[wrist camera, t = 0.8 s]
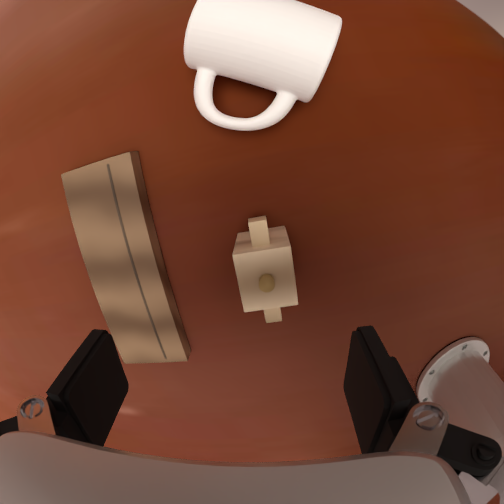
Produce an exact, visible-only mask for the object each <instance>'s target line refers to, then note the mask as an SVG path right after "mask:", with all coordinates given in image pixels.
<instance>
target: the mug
mask: <svg viewBox="0 0 504 504" xmlns="http://www.w3.org/2000/svg"><path fill="white" fill-rule="evenodd" d="M341 26H342V19H341V17H339V16H337V15H335V14H332V13H330V12H327V11H324V10H322V9H319V8H316V7H313V6H310V5H307V4H304V3H301V2H298V1H295V0H197V2H196V4H195V6H194V8H193V11H192V13H191V16H190V19H189V22H188V25H187V29H186V34H185V40H184V58H185V62H186V64H187V66H188V67H189V68H192V69H196V70H197V74H196V78H195V83H194V99H195V103H196V106H197V108H198V110H199V112H200V113H201V114H202V115H203V117H205V118H206V119H207V120H208V121H210V122H211V123H213V124H215V125H217V126H220V127H223V128H227V129H232V130H240V131H252V130H259V129H263V128H267V127H269V126H272V125H274V124H276V123H277V122H279V121H280V120H281V119H283V118H284V117H285V116H286V115H287V113H288V112H289V111H290V110H291V108H292V106H293V105H294V103H295V101H296V100H300V101H303V102H309V101H310V100H311V99H312V97H313V96H314V94H315V92H316V91H317V89H318V87H319V85H320V83H321V81H322V78H323V76H324V74H325V72H326V69H327V67H328V65H329V62H330V60H331V57H332V55H333V52H334V49H335V46H336V44H337V41H338V37H339V34H340V31H341ZM217 75H220V76H224V77H228V78H232V79H235V80H239V81H242V82H246V83H249V84H252V85H256V86H259V87H262V88H265V89H268V90H271V91H274V92H276V93H277V95H276V97H275V99H274V100H273V102H272V103H271V105H270V106H269V107H268V108H267V109H266V110H265V111H264V112H262V113H261V114H259V115H257V116H255V117H252V118H237V117H232V116H228V115H225V114H223V113H221V112H220V111H218V110H217V109H216V107H215V105H214V103H213V97H212V92H213V84H214V80H215V77H216V76H217Z"/></svg>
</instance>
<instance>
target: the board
mask: <svg viewBox="0 0 504 504" xmlns="http://www.w3.org/2000/svg"><path fill="white" fill-rule="evenodd" d="M61 177H62V181H63V186H64V190H65V195H66V199H67V203H68V207H69V211H70V215H71V219H72V223H73V226H74V230H75V233H76V237H77V240H78V244H79V247H80V250H81V253H82V257H83V260H84V263H85V266H86V269H87V272H88V275H89V278H90V281H91V283H92V286H93V289H94V292H95V294H96V297H97V300H98V302H99V305H100V308H101V310H102V313H103V315H104V318H105V320H106V323H107V325H108V327H109V330H110V332H111V334H112V337H113V339H114V341H115V344H116V346H117V348H118V350H119V353H120V355H121V357H122V359H123V361H124V363H159V362H178V361H188V358H189V355H190V352H191V349H190V346H189V343H188V340H187V337H186V334H185V331H184V328H183V324H182V321H181V318H180V315H179V312H178V309H177V305H176V302H175V299H174V295H173V292H172V289H171V285H170V282H169V278H168V275H167V271H166V268H165V264H164V261H163V257H162V253H161V249H160V246H159V242H158V238H157V234H156V230H155V226H154V222H153V218H152V214H151V210H150V205H149V201H148V197H147V192H146V188H145V183H144V178H143V174H142V169H141V164H140V159H139V154H138V151H133V152H127V153H124V154H121V155H117V156H114V157H111V158H108V159H105V160H101V161H98V162H95V163H92V164H89V165H86V166H83V167H81V168H78V169H75V170H72V171H69V172H67V173H64V174H61Z"/></svg>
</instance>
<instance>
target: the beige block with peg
mask: <svg viewBox="0 0 504 504" xmlns="http://www.w3.org/2000/svg"><path fill="white" fill-rule="evenodd" d="M248 226H249V231H248V232H242V233H238V234H237V238H236V242H235V246H234V250H233V254H232V256H233V261H234V266H235V270H236V275H237V280H238V285H239V290H240V294H241V299H242V304H243V309H244V312H251V311H258V310H264V314H265V320H266V323H271V322H278V321H282V315H281V308H280V307H286V306H292V305H298V298H297V290H296V282H295V274H294V267H293V259H292V252H291V245H290V242H289V239H288V235H287V232H286V229H285V226H280V227H274V228H268V226H267V219H266V216H261V217H254V218H249V219H248Z"/></svg>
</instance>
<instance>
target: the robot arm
mask: <svg viewBox="0 0 504 504" xmlns="http://www.w3.org/2000/svg"><path fill="white" fill-rule="evenodd" d="M489 357H490V352H489V348H488V346H487V344H486V343H485V342H484V341H483V340H482V339H480V338H477V337H467V338H463V339H460V340H458V341H456V342H454V343H452V344H450V345H449V346H447V347H446V348H444V349H443V350H442V351H441V352H439V353H438V354H437V355H436V356H435V357H434V358H433V359H432V360H431V361H430V363H429V364H428V365H427V366H426V368H425V369H424V371H423V372H422V374H421V376H420V378H419V380H418V383H417V387H416V393H417V397H418V399H419V401H420V402H421V403H419V401H418V399H417V397H416V395H415V393H414V391H413V389H412V387H411V385H410V383H409V382H408V380H407V378H406V376H405V374H404V372H403V370H402V369H401V367H400V365H399V363H398V361H397V360H396V358H395V357H390V356H389V355H388V353H387V351H386V349H385V347H384V345H383V343H382V342H381V340H380V338H379V336H378V334H377V333H376V331H375V329H374V327H373V326H363V327H358V328H357V330H356V331H353V332H352V336H351V343H350V349H349V356H348V362H347V368H346V373H345V379H344V392H345V396H346V399H347V402H348V406H349V409H350V413H351V416H352V420H353V423H354V427H355V430H356V434H357V438H358V441H359V445H360V448H361V452H362V454H360V455H351V456H343V457H335V458H325V459H314V460H302V461H286V462H215V461H199V460H187V459H177V458H168V457H160V456H153V455H146V454H140V453H134V452H128V451H122V450H117V449H112V448H108V447H103V446H104V443H105V441H106V439H107V436H108V434H109V432H110V429H111V427H112V425H113V423H114V420H115V418H116V416H117V414H118V411H119V409H120V407H121V405H122V403H123V401H124V398H125V396H126V394H127V392H128V381H127V379H126V376H125V373H124V370H123V367H122V365H121V362H120V359H119V356H118V353H117V350H116V347H115V344H114V340H113V337H112V335H111V334H109V333H108V332H107V331H106V330H97V329H94V330H92V331H91V332H90V334H89V335H88V336H87V338H86V339H85V340H84V342H83V343H82V344H81V345H80V347H79V348H78V349H77V351H76V352H75V353H74V355H73V356H72V357H71V359H70V360H69V361H68V363H67V364H66V366H65V367H64V368H63V370H62V371H61V372H60V374H59V375H58V377H57V378H56V379H55V381H54V382H53V384H52V385H51V386H50V388H49V389H48V391H47V392H46V393H47V395H48V397H47V398H46V399H45V398H44V397H42V396H37V395H34V396H30V397H27V398H25V399H24V400H23V401H22V402H21V403H20V404H19V406H18V408H17V416H15V417H13V418H10V419H7V420H4V421H2V422H0V504H504V382H503V381H502V380H501V379H500V377H499V376H498V375H497V374H496V372H495V371H494V370H493V369H492V367H491V366H490V365H489V364H488V362H489Z"/></svg>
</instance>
